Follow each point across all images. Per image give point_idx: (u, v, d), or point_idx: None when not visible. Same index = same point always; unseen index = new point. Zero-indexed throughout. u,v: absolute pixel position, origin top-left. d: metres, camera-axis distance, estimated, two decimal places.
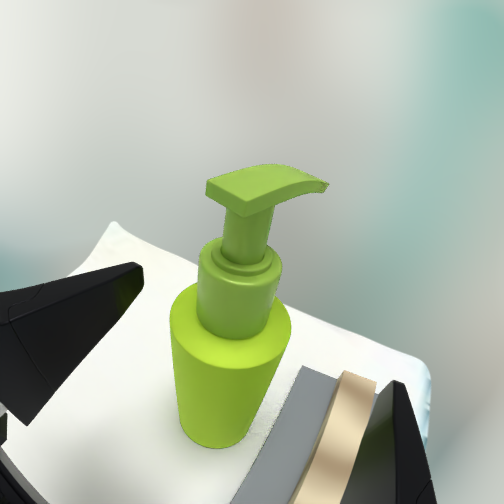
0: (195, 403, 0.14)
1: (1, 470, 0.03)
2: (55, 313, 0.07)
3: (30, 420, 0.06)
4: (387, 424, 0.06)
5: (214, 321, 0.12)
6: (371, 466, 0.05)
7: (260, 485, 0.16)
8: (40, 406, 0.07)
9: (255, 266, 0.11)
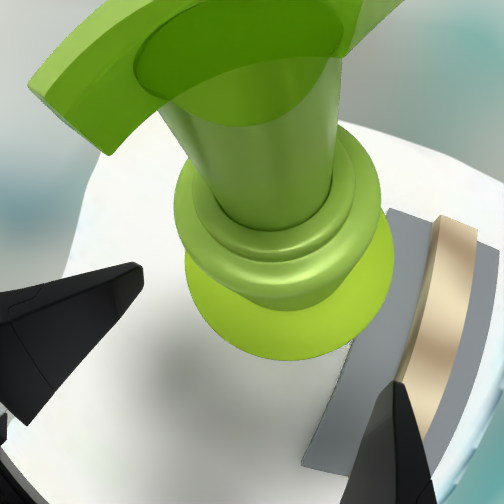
0: None
1: (1, 470, 0.03)
2: (55, 313, 0.07)
3: (30, 420, 0.06)
4: (387, 424, 0.06)
5: (257, 304, 0.06)
6: (371, 466, 0.05)
7: (358, 380, 0.17)
8: (40, 406, 0.07)
9: (316, 225, 0.04)
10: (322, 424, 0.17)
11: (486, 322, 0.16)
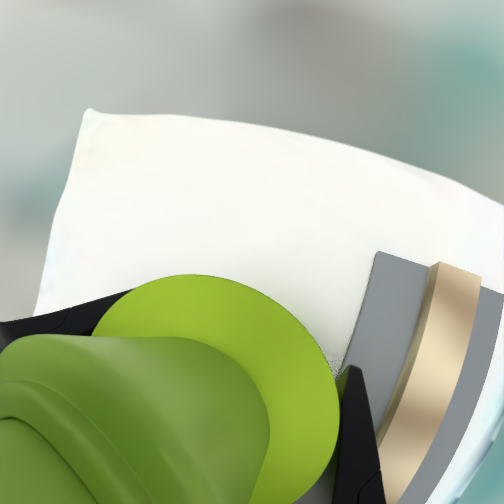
0: None
1: None
2: None
3: None
4: None
5: None
6: None
7: None
8: None
9: None
10: None
11: (481, 378, 0.13)
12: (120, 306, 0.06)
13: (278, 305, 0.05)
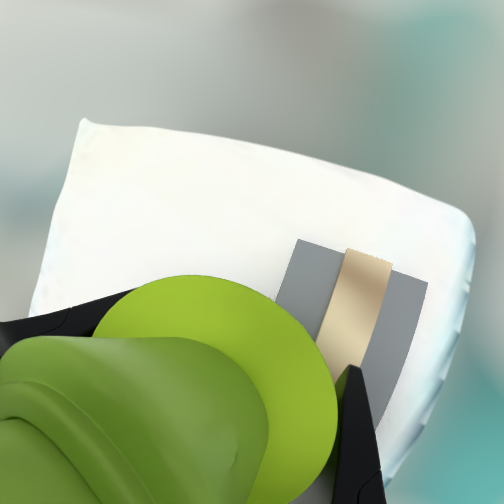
0: None
1: None
2: None
3: None
4: None
5: None
6: None
7: None
8: None
9: None
10: None
11: (401, 358, 0.18)
12: (120, 306, 0.06)
13: (276, 305, 0.05)
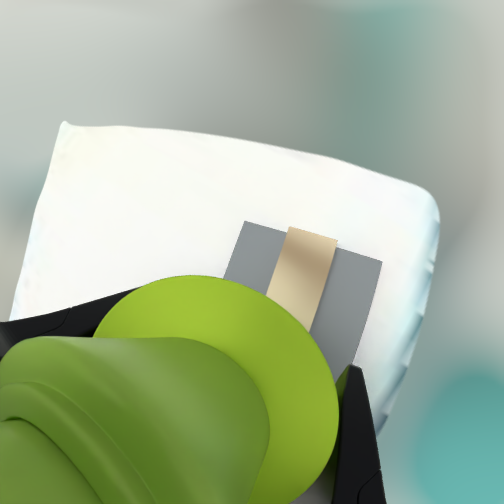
0: None
1: None
2: None
3: None
4: None
5: None
6: None
7: None
8: None
9: None
10: None
11: (353, 340, 0.19)
12: (121, 307, 0.06)
13: (277, 305, 0.05)
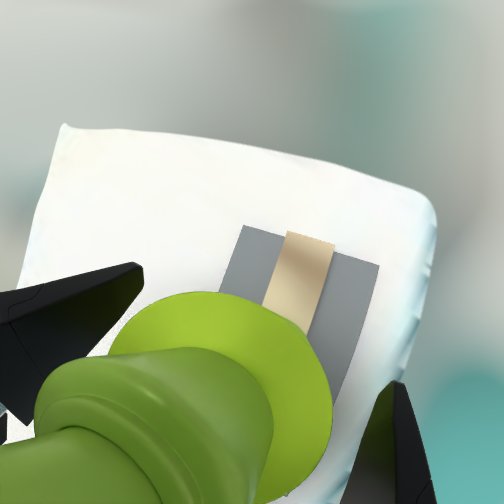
0: None
1: None
2: (55, 313, 0.07)
3: (30, 420, 0.06)
4: (387, 424, 0.06)
5: None
6: (371, 466, 0.05)
7: None
8: None
9: None
10: None
11: (350, 343, 0.19)
12: (139, 319, 0.07)
13: (279, 318, 0.06)
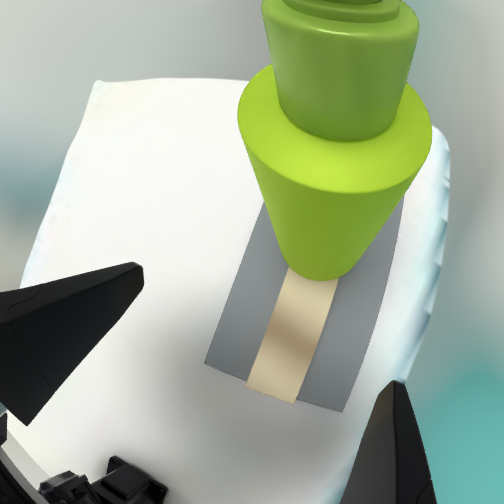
0: (307, 243, 0.11)
1: (1, 470, 0.03)
2: (55, 313, 0.07)
3: (30, 420, 0.06)
4: (387, 424, 0.06)
5: (325, 115, 0.06)
6: (371, 466, 0.05)
7: (252, 277, 0.22)
8: (40, 406, 0.07)
9: (380, 5, 0.03)
10: (221, 319, 0.21)
11: (392, 234, 0.20)
12: None
13: None
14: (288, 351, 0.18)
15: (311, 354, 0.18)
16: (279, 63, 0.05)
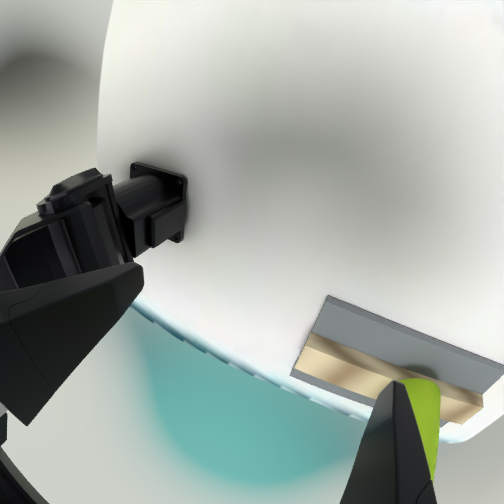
0: None
1: (1, 470, 0.03)
2: (55, 313, 0.07)
3: (30, 420, 0.06)
4: (387, 424, 0.06)
5: None
6: (371, 466, 0.05)
7: (400, 344, 0.20)
8: (40, 406, 0.07)
9: None
10: (367, 318, 0.21)
11: None
12: None
13: None
14: (333, 372, 0.23)
15: (330, 382, 0.23)
16: None
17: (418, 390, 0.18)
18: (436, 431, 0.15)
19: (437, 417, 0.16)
